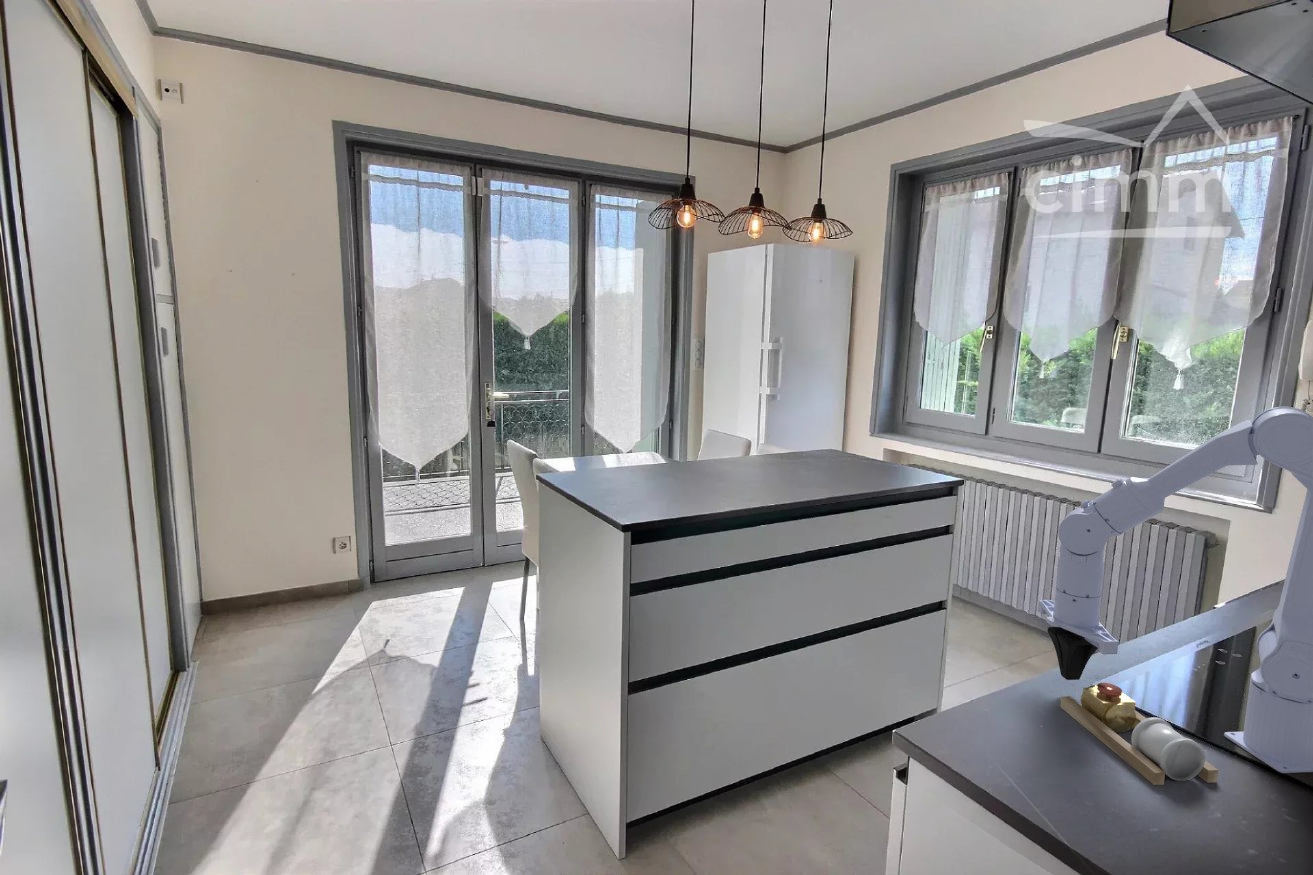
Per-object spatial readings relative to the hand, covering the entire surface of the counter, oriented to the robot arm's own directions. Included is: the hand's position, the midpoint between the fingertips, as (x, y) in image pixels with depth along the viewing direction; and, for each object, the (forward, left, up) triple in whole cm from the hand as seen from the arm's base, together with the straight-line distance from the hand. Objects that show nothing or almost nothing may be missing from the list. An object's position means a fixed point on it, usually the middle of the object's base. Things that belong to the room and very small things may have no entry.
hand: (1070, 677), depth 99 cm
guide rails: (0, +12, -2) cm, 12 cm away
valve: (0, +8, -2) cm, 8 cm away
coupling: (0, +18, -2) cm, 18 cm away
